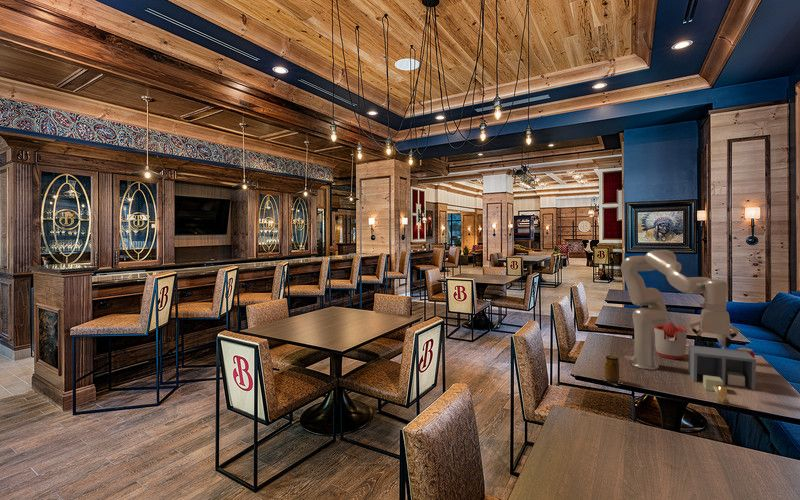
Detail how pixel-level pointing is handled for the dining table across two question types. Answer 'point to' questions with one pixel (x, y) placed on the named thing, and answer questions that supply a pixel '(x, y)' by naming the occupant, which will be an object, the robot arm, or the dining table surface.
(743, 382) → the grey block
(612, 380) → the condiment
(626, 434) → the dining table surface
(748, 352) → the soda can
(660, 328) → the citrus juicer
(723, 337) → the chalice
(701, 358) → the cubby shelf
